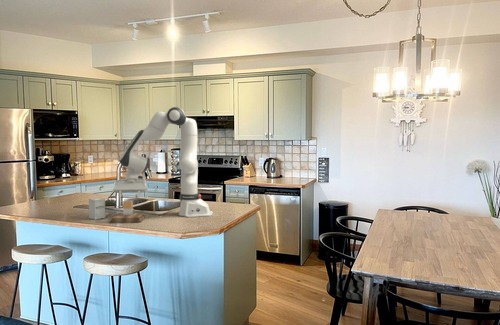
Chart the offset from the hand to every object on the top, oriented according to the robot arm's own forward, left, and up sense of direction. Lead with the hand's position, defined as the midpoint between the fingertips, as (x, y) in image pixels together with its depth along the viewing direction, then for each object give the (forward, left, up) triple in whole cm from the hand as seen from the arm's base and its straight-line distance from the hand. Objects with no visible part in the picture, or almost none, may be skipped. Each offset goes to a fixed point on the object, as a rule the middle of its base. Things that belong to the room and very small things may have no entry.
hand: (129, 197), depth 235 cm
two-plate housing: (0, +3, -11) cm, 11 cm away
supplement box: (+21, -4, -14) cm, 26 cm away
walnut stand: (0, +3, -14) cm, 14 cm away
